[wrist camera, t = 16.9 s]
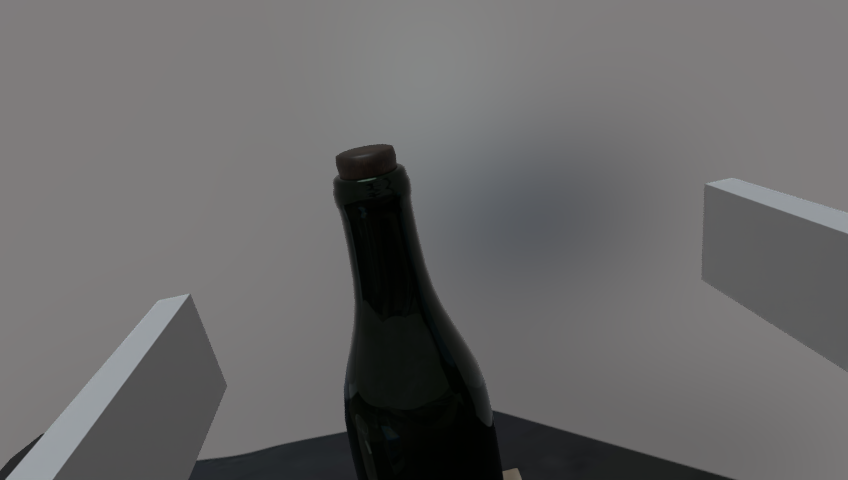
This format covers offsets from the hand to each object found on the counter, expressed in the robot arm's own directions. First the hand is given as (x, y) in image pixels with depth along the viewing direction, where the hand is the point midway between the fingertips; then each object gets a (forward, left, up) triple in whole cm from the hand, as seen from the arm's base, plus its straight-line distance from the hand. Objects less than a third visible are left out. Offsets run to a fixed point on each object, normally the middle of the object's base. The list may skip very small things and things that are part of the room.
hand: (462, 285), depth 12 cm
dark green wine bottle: (+2, -16, -32) cm, 36 cm away
